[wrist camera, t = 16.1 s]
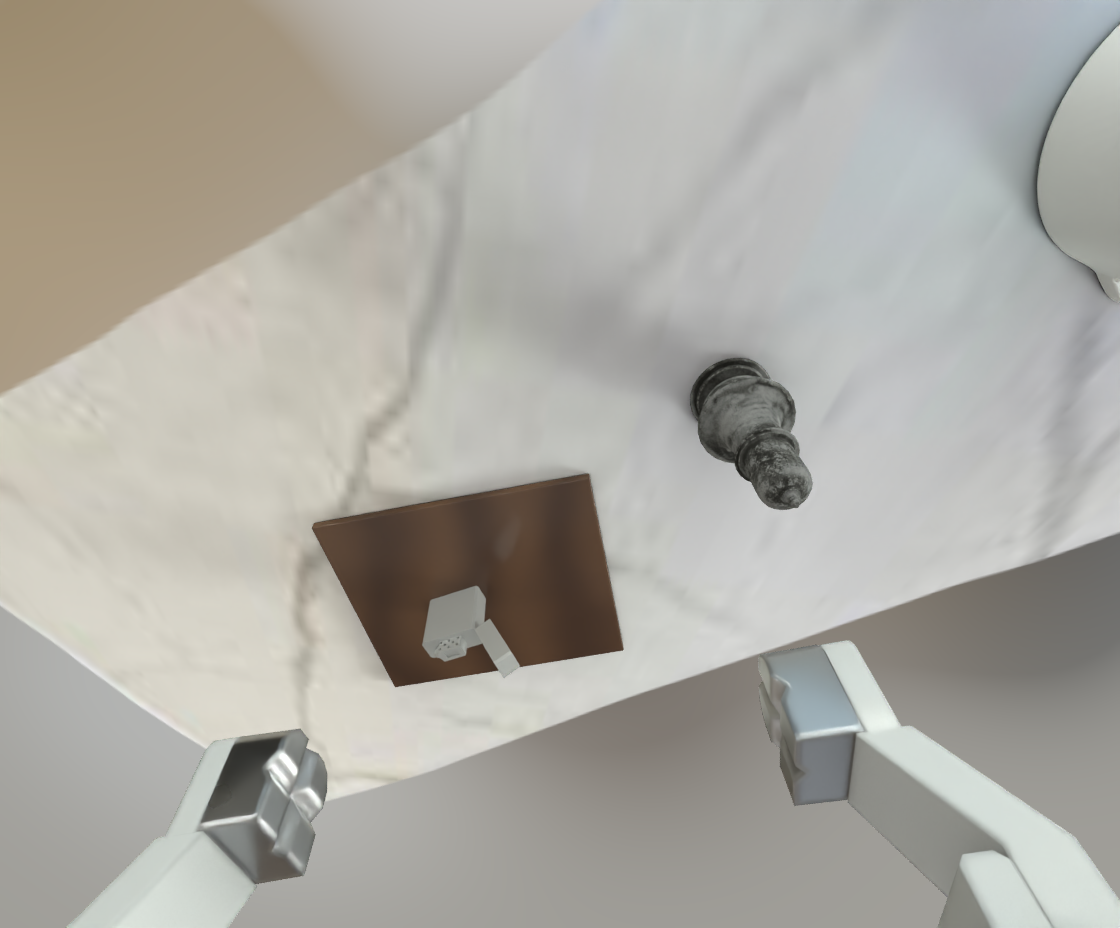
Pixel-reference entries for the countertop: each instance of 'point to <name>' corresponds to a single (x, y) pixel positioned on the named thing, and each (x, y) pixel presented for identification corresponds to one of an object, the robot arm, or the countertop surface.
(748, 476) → the tarnished pewter finial
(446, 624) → the lighter
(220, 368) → the countertop surface
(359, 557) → the walnut board
